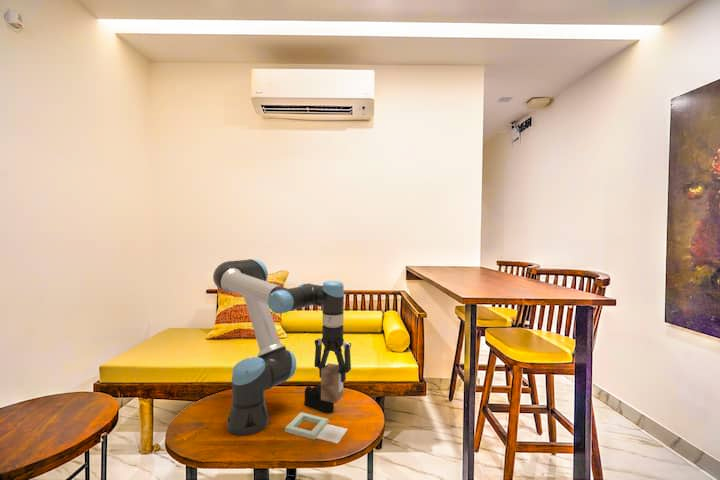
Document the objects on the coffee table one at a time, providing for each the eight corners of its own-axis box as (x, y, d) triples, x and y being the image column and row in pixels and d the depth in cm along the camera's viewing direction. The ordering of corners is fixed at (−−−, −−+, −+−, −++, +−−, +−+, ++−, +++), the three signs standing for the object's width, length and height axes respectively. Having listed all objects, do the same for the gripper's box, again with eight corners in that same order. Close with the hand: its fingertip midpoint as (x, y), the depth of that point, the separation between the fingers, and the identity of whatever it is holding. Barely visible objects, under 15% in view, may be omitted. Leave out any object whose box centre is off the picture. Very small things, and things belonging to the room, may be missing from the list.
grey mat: (314, 438, 119) (314, 437, 119) (326, 425, 127) (326, 423, 127) (337, 445, 115) (337, 443, 115) (347, 430, 124) (347, 429, 124)
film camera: (343, 405, 142) (343, 384, 141) (329, 416, 133) (329, 394, 133) (315, 395, 150) (316, 375, 149) (300, 404, 142) (301, 383, 141)
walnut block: (320, 400, 119) (321, 369, 119) (328, 392, 125) (328, 363, 124) (336, 403, 117) (336, 372, 117) (343, 395, 122) (343, 365, 122)
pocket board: (285, 432, 122) (285, 427, 122) (301, 417, 132) (301, 412, 132) (314, 440, 118) (314, 435, 118) (328, 424, 128) (328, 418, 128)
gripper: (304, 324, 120) (303, 388, 121) (353, 330, 113) (352, 398, 114) (314, 319, 127) (314, 379, 128) (361, 325, 120) (360, 388, 121)
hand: (332, 388), depth 121 cm, fingers closed on walnut block, 6 cm apart
